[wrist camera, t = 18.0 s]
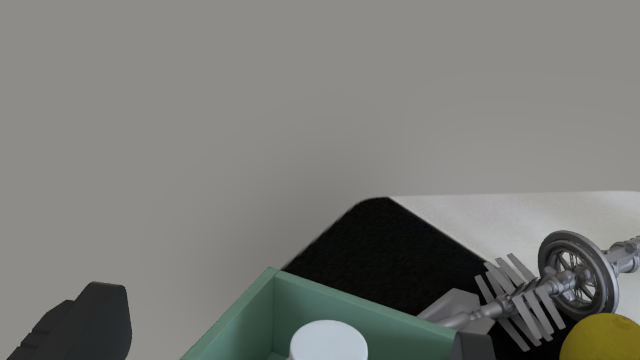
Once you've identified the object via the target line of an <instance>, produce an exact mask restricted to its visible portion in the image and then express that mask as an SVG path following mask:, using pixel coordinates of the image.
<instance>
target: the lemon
mask: <svg viewBox="0 0 640 360" xmlns="http://www.w3.org/2000/svg"><path fill="white" fill-rule="evenodd" d="M559 360H640V326H639V325H638V324H637V323H635V322H634V321H632V320H630V319H629V318H627V317H625V316H621V315H618V314H613V313H599V314H594V315H590V316H588V317H586V318H584V319H583V320H581V321H580V322H578V323H577V324H576V325H575V326H574V328H573V329H572V330H571V332H570V333H569V334H568V336H567V337H566V339H565V341H564V343H563V345H562V348H561V352H560V357H559Z"/></svg>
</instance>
